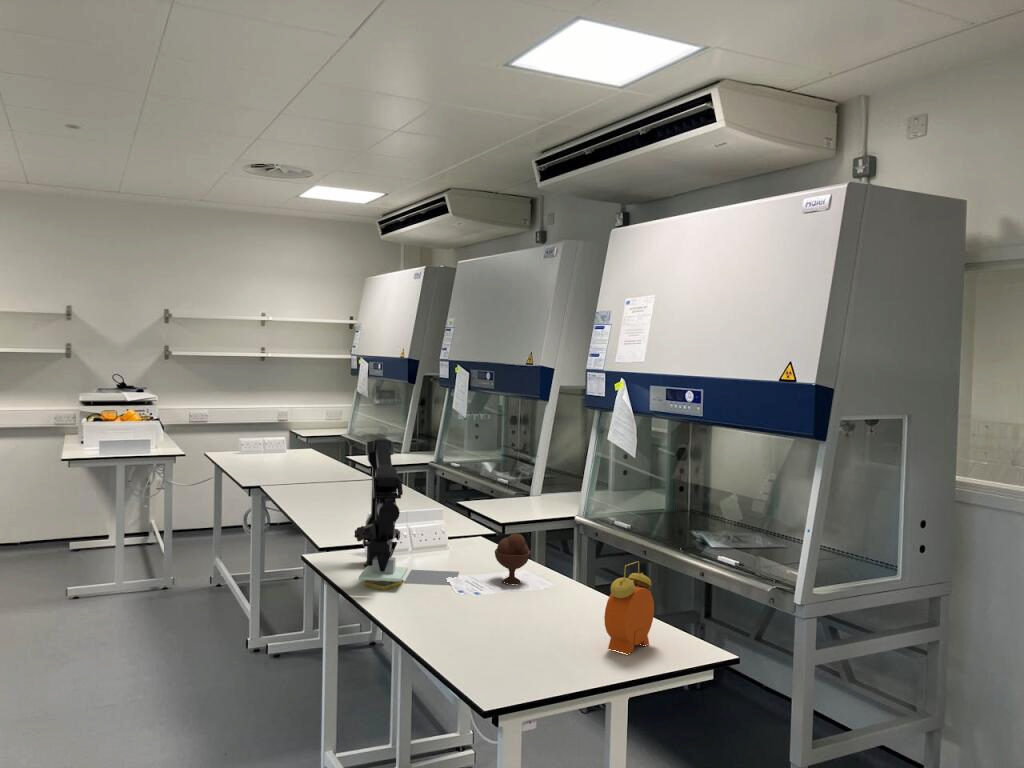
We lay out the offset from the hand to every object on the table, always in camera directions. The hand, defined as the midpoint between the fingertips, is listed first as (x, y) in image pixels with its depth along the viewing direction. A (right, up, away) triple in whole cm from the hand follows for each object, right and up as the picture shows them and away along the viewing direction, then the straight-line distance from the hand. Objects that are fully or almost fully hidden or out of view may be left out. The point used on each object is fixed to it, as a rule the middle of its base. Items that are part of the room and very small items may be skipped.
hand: (383, 569), depth 229 cm
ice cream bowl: (+37, -6, +9) cm, 39 cm away
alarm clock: (+65, -9, -42) cm, 77 cm away
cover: (0, -2, 0) cm, 2 cm away
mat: (+13, -5, +10) cm, 17 cm away
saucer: (0, -6, 0) cm, 6 cm away
